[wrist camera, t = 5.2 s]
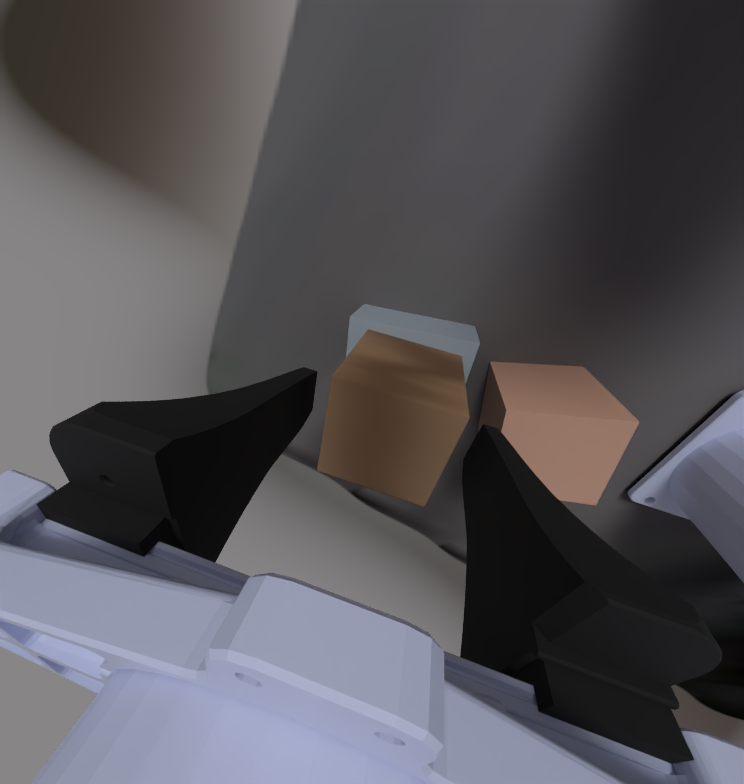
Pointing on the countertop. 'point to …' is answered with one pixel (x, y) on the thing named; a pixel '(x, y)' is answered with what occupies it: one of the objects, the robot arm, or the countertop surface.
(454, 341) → the plinth block
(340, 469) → the walnut block
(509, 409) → the terracotta block
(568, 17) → the countertop surface
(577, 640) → the robot arm
